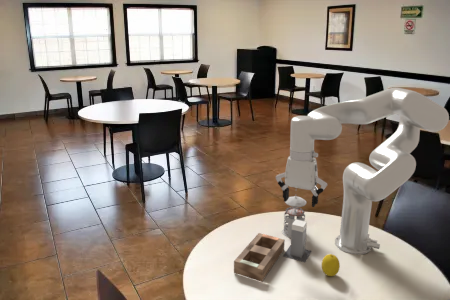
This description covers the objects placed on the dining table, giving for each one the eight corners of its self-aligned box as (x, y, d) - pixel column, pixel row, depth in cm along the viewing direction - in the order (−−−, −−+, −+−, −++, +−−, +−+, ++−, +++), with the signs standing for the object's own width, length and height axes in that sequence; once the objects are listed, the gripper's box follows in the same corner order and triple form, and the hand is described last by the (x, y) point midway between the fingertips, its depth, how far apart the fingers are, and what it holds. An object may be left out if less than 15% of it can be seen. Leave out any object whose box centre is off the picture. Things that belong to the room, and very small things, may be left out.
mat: (311, 251, 136) (311, 250, 136) (305, 263, 129) (305, 262, 129) (290, 246, 139) (290, 245, 139) (282, 257, 133) (282, 256, 133)
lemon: (328, 283, 119) (331, 261, 116) (317, 273, 124) (318, 252, 121) (342, 278, 121) (344, 256, 119) (330, 269, 126) (332, 248, 124)
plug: (304, 252, 135) (306, 221, 131) (301, 257, 132) (303, 227, 128) (293, 249, 137) (295, 219, 133) (290, 254, 133) (291, 224, 130)
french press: (279, 238, 145) (281, 177, 137) (283, 223, 155) (286, 166, 148) (305, 242, 142) (309, 179, 134) (308, 227, 153) (312, 168, 145)
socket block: (284, 250, 137) (284, 239, 135) (262, 282, 120) (262, 269, 118) (258, 243, 141) (258, 232, 140) (233, 272, 124) (233, 260, 123)
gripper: (331, 154, 122) (328, 203, 127) (280, 148, 130) (279, 193, 135) (325, 162, 116) (322, 212, 121) (272, 154, 123) (271, 202, 129)
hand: (299, 202), depth 128 cm, fingers open, 9 cm apart
